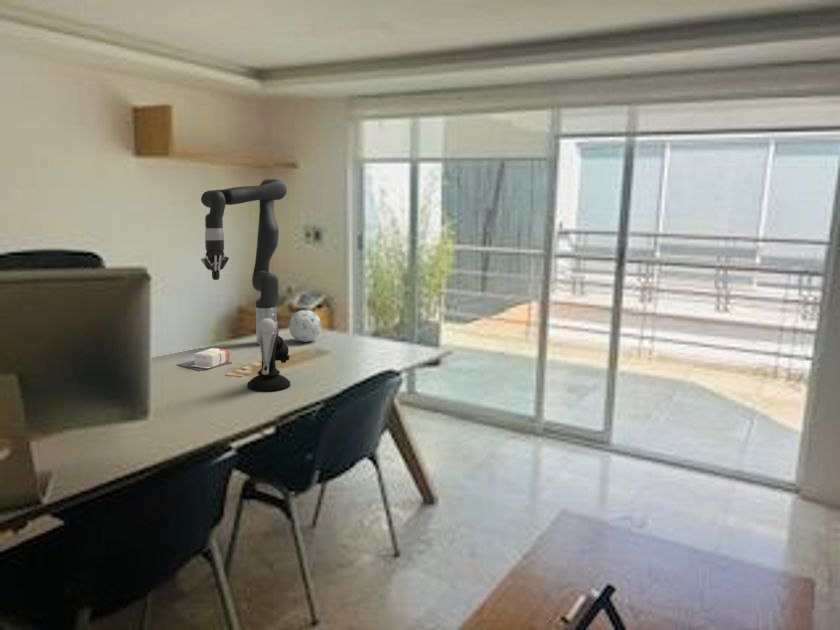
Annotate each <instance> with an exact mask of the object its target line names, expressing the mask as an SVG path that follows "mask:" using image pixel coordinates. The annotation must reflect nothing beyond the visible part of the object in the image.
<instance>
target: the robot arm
mask: <svg viewBox="0 0 840 630" xmlns="http://www.w3.org/2000/svg"><path fill="white" fill-rule="evenodd" d="M287 192H288V190H287V185H286V184H285V182H284V181H282V180H280V179H276V178H275V179H273V178H272V179H270V178H269V179H267V178H266V179H264V180H262V181H261V182H260V184H259V185H251V186H250V185H247V186H236V187H228V188H225V189H214V190H213V189H212V190H206V191H205V192H204V193H202V194H201V197H200V201H201V203H202V205H203V206H204V207H206V208H209V213H207V214H206V215H205V217H204V221H205V222H204V223H205V224H204V226H205V229H204V231H205V232H204V241H205V242H204V243H205V250H206V252H205V256H204V257H203V258H201V259H200V260H201V262H202V263H203V265H204V266H205V267H206V269H207V270H210V271H211V278H212V281H213V280H214V281H217V280H218V281H219V280H220V277H221V276H220V271H221V270H223V269H224V268H225V267H226V265H227V262H228V261H229V256H227V255H225V252H224V251H225V241H224V240H225V238H224V237H225V235H224V233H225V232H224V224H223V223H224V222H223V221H224V220H223V218H224V214H225V210H226V206H232V205H239V204H243V203H249V202H254V201H259V214H258V216H259V217H258V228H257V239H256V242H257V243H256V251H255V252H256V254H255V261H254V268H253V273H252V278H251V281H252V287H253V289H254V290H255V291H257V292H260V298H259V299H257V300H256V301H255V319H256V320H255V323H256V325H255V326H256V336H255V337H256V344H257V345H258V346H260V345H261V344H260V343H261V342H260V340H261V339H260V338H261V337H260V335H261V334H260V333H261V332H260V330H259V328H258V325H259V322H260V321H261V320H263V319H265V318H269V319H272V320H273V321H274V322H275V323H276V329H275V330H276V332H277V335H278V336H279V322H278V321H277V318H278V317H277V303H278V300H279V280H278V277H277V275H276V274H274V273H271V272H270V263H271V259H272V257H273V255H274V253H275V251H276V249H277V247H278V242H279V231H280V230H279V225H278V221H277V219H276V217H275V212H274V207H275V201H279V200H282V199H283V198H285V196H286V195H287Z"/></svg>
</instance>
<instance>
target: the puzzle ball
mask: <svg viewBox="0 0 840 630" xmlns="http://www.w3.org/2000/svg"><path fill="white" fill-rule="evenodd" d="M288 329H289V333H290V335H291V336H292V337H293V338H294V340H296V341H298V342H303V343H306V342H311V341H315V339H316V338H317V337H318V336H319V335H320V333H321V330H322V322H321V319H320V317H319V316H318V315H317V314H316V312H313V311H312V310H309V309H303V310H299V311H297V312H295V313H294V314H293V315H292V316H291V318H290V320H289V323H288Z"/></svg>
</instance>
